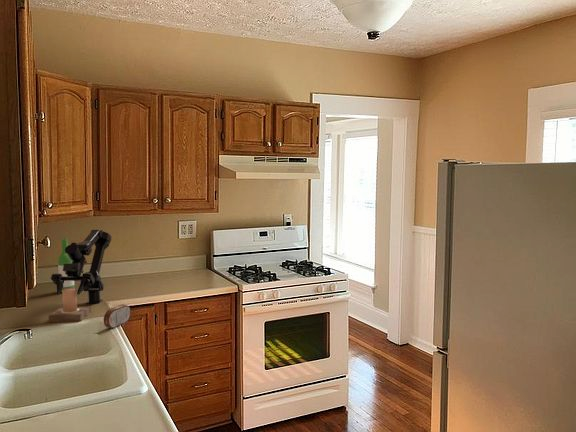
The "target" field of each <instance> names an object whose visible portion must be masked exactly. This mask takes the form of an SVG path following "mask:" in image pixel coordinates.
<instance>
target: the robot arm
mask: <svg viewBox="0 0 576 432" xmlns="http://www.w3.org/2000/svg"><path fill="white" fill-rule="evenodd" d="M111 241H112V236H111V234H110V233H108V232H105V231H103V230H102V229H92V230H91V231H90V233H89V234H88V235H87V236H86V237H85V238H84V239H83V241H80V242H71V243H70V244H69V245H68V246H67V247H66V248H65V252H66V254H67V255H68V257H69V258H70V260H72V263H71V264H64V265H63V271H65V274H66V275H67V276H62V275H61V274H59V273H52V275H51V276H50V279H51V281H52V282H53V284H54V285H56V294H57V295H58V296H59V295H60V294H61V293H62V292H61V290H62V288H63V283H64V281H74V282H77V281H78V282H79V281H80V283H79V286H78V289H77V291H76V293H77V295H78V296H79V295H80V294H81V293H82V292H87V301H86V302H85V304H86V305H87V304H90V305H91V304H100V303H101V302H102V301H103V299H101V291H104V289H105V284H104V283H103V281H102V277H101V275H100V273H101V267H102V263H103V259H104V255H105V250H107V249H108V247H109V246H110V243H111ZM93 246H95V248H94V251H93ZM92 251H93V252H94V253H93V257H92V261H91V264H90V268H89V271H87V272H84V267H85V264H87V263H88V262H87V259H86V256H88V257H89V256H90V255H91V253H92Z"/></svg>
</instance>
